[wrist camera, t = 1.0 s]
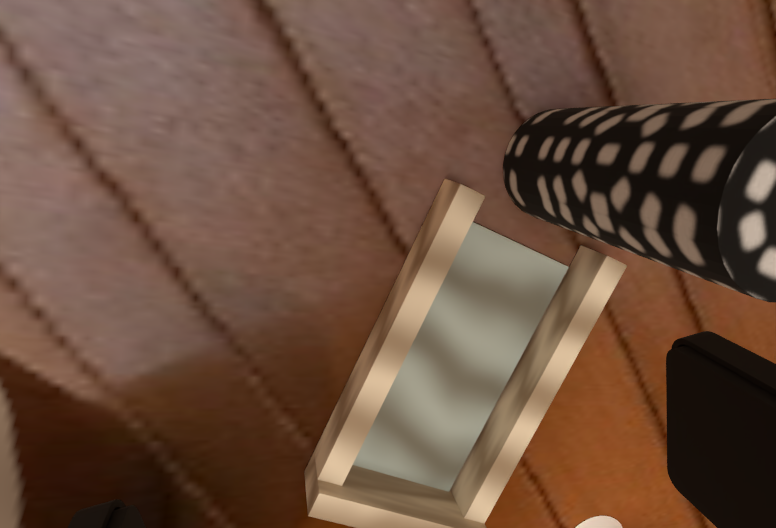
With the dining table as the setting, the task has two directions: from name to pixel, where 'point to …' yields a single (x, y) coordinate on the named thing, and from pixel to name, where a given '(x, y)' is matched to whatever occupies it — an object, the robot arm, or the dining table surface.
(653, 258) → the spotted tube
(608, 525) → the champagne flute
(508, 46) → the dining table surface
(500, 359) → the open-ended tray
